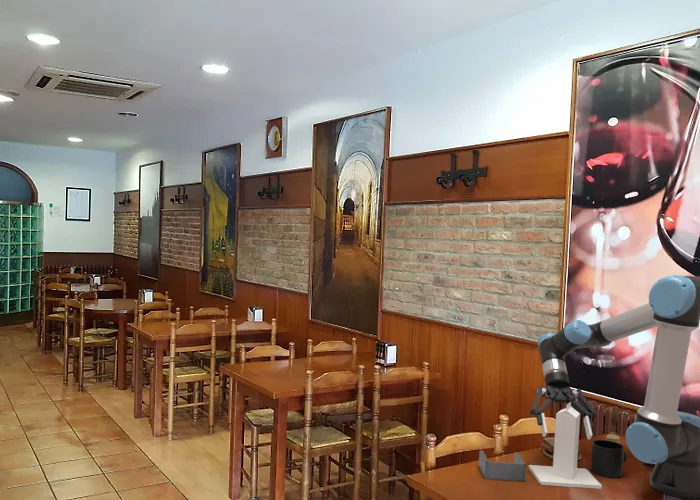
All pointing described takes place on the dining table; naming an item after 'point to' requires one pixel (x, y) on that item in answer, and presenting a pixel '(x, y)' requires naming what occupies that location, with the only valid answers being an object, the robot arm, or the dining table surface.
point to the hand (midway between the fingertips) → (567, 436)
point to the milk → (566, 443)
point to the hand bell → (613, 426)
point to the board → (580, 480)
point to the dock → (502, 468)
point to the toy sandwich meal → (552, 447)
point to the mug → (607, 458)
